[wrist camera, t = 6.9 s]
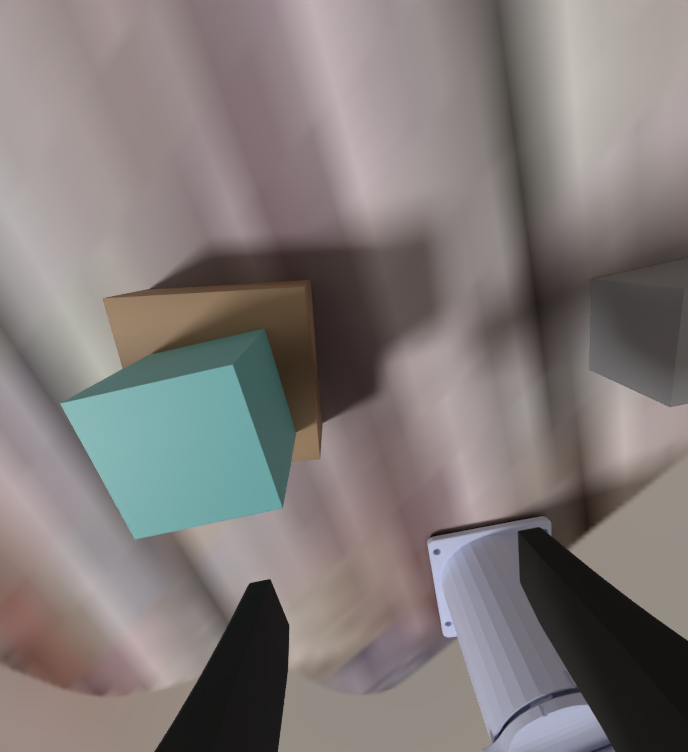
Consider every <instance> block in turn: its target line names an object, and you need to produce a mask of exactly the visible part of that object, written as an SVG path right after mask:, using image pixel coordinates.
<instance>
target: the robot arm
mask: <svg viewBox="0 0 688 752" xmlns="http://www.w3.org/2000/svg"><path fill="white" fill-rule="evenodd" d="M427 545H428V551H429V557H430V563H431V568H432V574H433V580H434V586H435V592H436V597H437V603H438V609H439V615H440V621H441V627H442V631H443V634H444V636H446V637H455V636H457V637H458V640H459V644H460V647H461V650H462V653H463V656H464V659H465V662H466V665H467V668H468V672H469V675H470V678H471V681H472V684H473V687H474V690H475V693H476V696H477V700H478V703H479V705H480V709H481V712H482V715H483V718H484V721H485V724H486V727H487V731H488V734H489V737H490V740H491V743H492V744H491V745H490V746H488V747H486V748H484V749H482V751H481V752H688V641H687V640H686V639H684V638H683V637H682V636H680V635H679V634H677V633H676V632H675V631H673V630H672V629H670V628H669V627H667V626H666V625H665V624H663V623H662V622H661V621H659V620H657V619H656V618H655V617H653V616H652V615H651V614H649V613H648V612H647V611H645V610H644V609H643V608H641V607H640V606H639V605H637V604H636V603H634V602H633V601H632V600H631V599H629V598H628V597H627V596H625V595H624V594H623V593H621V592H620V591H619V590H617V589H616V588H615V587H614V586H612V585H611V584H610V583H608V582H607V581H606V580H604V579H603V578H602V577H601V576H599V575H598V574H597V573H596V572H594V571H593V570H592V569H591V568H589V567H588V566H587V565H586V564H584V563H583V562H582V561H581V560H580V559H578V558H577V557H576V556H575V555H573V554H572V553H571V552H570V551H569V550H567V549H566V548H565V547H564V546H563V545H561V544H560V543H559V542H558V541H557V540H555V539H554V538H553V537H552V528H551V522H550V520H549V519H548V518H547V517H545V516H540V517H535V518H529V519H524V520H519V521H513V522H508V523H503V524H497V525H492V526H487V527H481V528H476V529H471V530H466V531H460V532H455V533H450V534H444V535H439V536H434V537H431V538H430V539H429V540H428V541H427ZM436 549H438V550H436ZM288 655H289V624H288V621H287V619H286V616H285V614H284V611H283V609H282V606H281V604H280V602H279V599H278V597H277V594H276V592H275V589H274V587H273V584H272V582H271V580H270V579H268V580H263V581H258V582H253V583H250V584H249V585H248V587H247V589H246V591H245V593H244V595H243V597H242V599H241V601H240V603H239V604H238V606H237V608H236V610H235V612H234V614H233V616H232V618H231V620H230V622H229V624H228V626H227V628H226V630H225V632H224V634H223V635H222V637H221V639H220V641H219V643H218V645H217V647H216V648H215V650H214V652H213V654H212V656H211V658H210V659H209V661H208V663H207V665H206V667H205V669H204V670H203V672H202V674H201V676H200V677H199V679H198V681H197V683H196V684H195V686H194V688H193V689H192V691H191V693H190V695H189V696H188V698H187V700H186V701H185V703H184V705H183V706H182V708H181V710H180V711H179V713H178V715H177V717H176V718H175V720H174V722H173V723H172V725H171V727H170V728H169V729H168V731H167V733H166V734H165V736H164V737H163V739H162V741H161V742H160V744H159V745H158V747H157V749H156V750H155V752H278V745H279V738H280V730H281V722H282V714H283V706H284V698H285V689H286V681H287V673H288Z"/></svg>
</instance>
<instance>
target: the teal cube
mask: <svg viewBox="0 0 688 752" xmlns="http://www.w3.org/2000/svg"><path fill="white" fill-rule="evenodd" d="M60 404H61V406H62V408H63V409H64V411H65V413H66V415H67V417H68V419H69V420H70V422H71V424H72V426H73V428H74V429H75V431H76V433H77V435H78V437H79V439H80V440H81V442H82V444H83V446H84V448H85V449H86V451H87V453H88V455H89V457H90V459H91V460H92V462H93V464H94V466H95V468H96V470H97V471H98V473H99V475H100V477H101V479H102V480H103V482H104V484H105V486H106V488H107V490H108V491H109V493H110V495H111V497H112V499H113V500H114V502H115V504H116V506H117V508H118V510H119V511H120V513H121V515H122V517H123V519H124V520H125V522H126V524H127V526H128V528H129V530H130V531H131V533H132V535H133V537H134V539H139V538H144V537H149V536H153V535H158V534H163V533H168V532H172V531H177V530H182V529H186V528H191V527H196V526H201V525H205V524H210V523H215V522H220V521H224V520H229V519H234V518H239V517H243V516H248V515H253V514H258V513H262V512H267V511H272V510H277V509H281V508H283V503H284V498H285V493H286V487H287V482H288V476H289V471H290V465H291V460H292V454H293V449H294V443H295V438H296V430H295V427H294V424H293V420H292V417H291V414H290V410H289V407H288V404H287V400H286V397H285V394H284V390H283V387H282V384H281V381H280V377H279V374H278V371H277V367H276V364H275V361H274V357H273V354H272V351H271V348H270V344H269V341H268V338H267V334H266V331H265V328H263V329H259V330H255V331H250V332H246V333H242V334H237V335H233V336H229V337H224V338H220V339H215V340H211V341H207V342H202V343H198V344H194V345H189V346H185V347H180V348H176V349H172V350H167V351H163V352H159V353H154V354H150V355H147V356H146V357H144V358H142V359H140V360H138V361H136V362H135V363H133V364H131V365H129V366H127V367H126V368H124V369H122V370H120V371H118V372H116V373H115V374H113V375H111V376H109V377H107V378H106V379H104V380H102V381H100V382H98V383H97V384H95V385H93V386H91V387H89V388H87V389H86V390H84V391H82V392H80V393H78V394H77V395H75V396H73V397H71V398H69V399H68V400H66V401H64V402H62V403H60Z"/></svg>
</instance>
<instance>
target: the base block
mask: <svg viewBox="0 0 688 752" xmlns="http://www.w3.org/2000/svg"><path fill="white" fill-rule="evenodd" d="M103 302H104V305H105V308H106V312H107V315H108V319H109V322H110V326H111V329H112V333H113V336H114V340H115V343H116V347H117V350H118V354H119V357H120V361H121V364H122V367H123V369H124V368H126V367H127V366H129V365H131V364H133V363H135V362H136V361H138V360H140V359H142V358H144V357H146V356H147V355H150V354H154V353H159V352H163V351H167V350H172V349H176V348H180V347H185V346H189V345H194V344H198V343H202V342H207V341H211V340H215V339H220V338H224V337H229V336H233V335H237V334H242V333H246V332H250V331H255V330H259V329H263V328H265V331H266V334H267V338H268V341H269V344H270V348H271V351H272V354H273V357H274V361H275V364H276V367H277V371H278V374H279V377H280V381H281V384H282V387H283V390H284V394H285V397H286V400H287V404H288V407H289V410H290V414H291V417H292V420H293V424H294V427H295V430H296V438H295V443H294V449H293V454H292V460H291V461H298V460H315V459H320V452H321V438H322V411H321V399H320V387H319V375H318V363H317V351H316V339H315V327H314V315H313V303H312V292H311V280H298V281H281V282H263V283H246V284H229V285H211V286H194V287H176V288H159V289H147V290H142V291H137V292H132V293H127V294H122V295H117V296H112V297H107V298H103Z"/></svg>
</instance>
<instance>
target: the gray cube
mask: <svg viewBox="0 0 688 752" xmlns="http://www.w3.org/2000/svg"><path fill="white" fill-rule="evenodd" d="M589 370H591V371H593V372H595V373H597V374H600V375H602V376H604V377H606V378H608V379H610V380H613V381H615V382H617V383H619V384H621V385H623V386H626V387H628V388H630V389H632V390H634V391H636V392H638V393H641V394H643V395H645V396H647V397H649V398H651V399H654V400H656V401H658V402H660V403H662V404H664V405H666V406H669V407H674V406H678V405H683V404H688V257H687V258H683V259H678V260H674V261H669V262H665V263H660V264H656V265H651V266H647V267H642V268H638V269H633V270H629V271H624V272H620V273H616V274H611V275H607V276H602V277H598V278H593V279H592V280H591V316H590V352H589Z"/></svg>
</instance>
